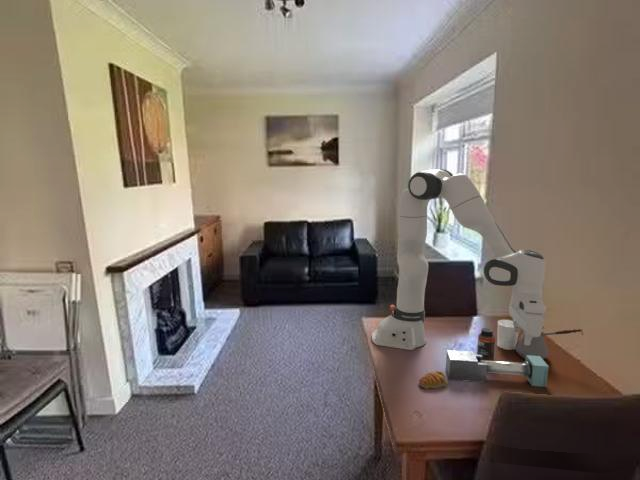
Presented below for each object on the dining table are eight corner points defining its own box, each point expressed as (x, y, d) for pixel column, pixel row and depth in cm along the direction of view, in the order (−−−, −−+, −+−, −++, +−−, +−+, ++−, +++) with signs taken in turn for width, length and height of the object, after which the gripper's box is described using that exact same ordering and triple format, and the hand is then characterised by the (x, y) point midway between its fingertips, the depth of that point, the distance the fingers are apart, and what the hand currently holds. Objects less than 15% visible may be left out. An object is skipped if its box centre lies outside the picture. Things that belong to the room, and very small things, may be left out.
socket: (531, 385, 132) (534, 365, 131) (524, 374, 139) (526, 355, 138) (546, 386, 132) (548, 366, 130) (537, 375, 139) (539, 356, 137)
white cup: (512, 342, 164) (514, 319, 162) (520, 351, 157) (522, 327, 155) (493, 341, 165) (495, 319, 163) (499, 350, 157) (501, 326, 155)
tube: (481, 376, 135) (482, 362, 134) (477, 369, 140) (478, 355, 139) (540, 381, 132) (542, 366, 131) (534, 373, 137) (536, 359, 136)
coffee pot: (511, 357, 151) (515, 320, 149) (517, 346, 160) (521, 311, 158) (577, 375, 139) (582, 335, 136) (579, 362, 148) (585, 324, 145)
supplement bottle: (492, 355, 153) (495, 327, 151) (494, 362, 148) (496, 333, 146) (476, 352, 155) (478, 325, 153) (477, 359, 150) (479, 331, 148)
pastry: (427, 393, 128) (427, 382, 127) (413, 383, 134) (414, 372, 133) (449, 386, 132) (449, 375, 132) (435, 376, 138) (435, 366, 138)
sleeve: (449, 379, 136) (450, 359, 134) (445, 369, 143) (446, 350, 142) (485, 382, 134) (487, 362, 133) (480, 371, 141) (481, 352, 140)
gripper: (506, 289, 142) (502, 325, 144) (526, 309, 122) (521, 351, 124) (524, 290, 141) (520, 326, 143) (548, 310, 121) (543, 352, 123)
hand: (521, 338), depth 134 cm, fingers open, 8 cm apart
